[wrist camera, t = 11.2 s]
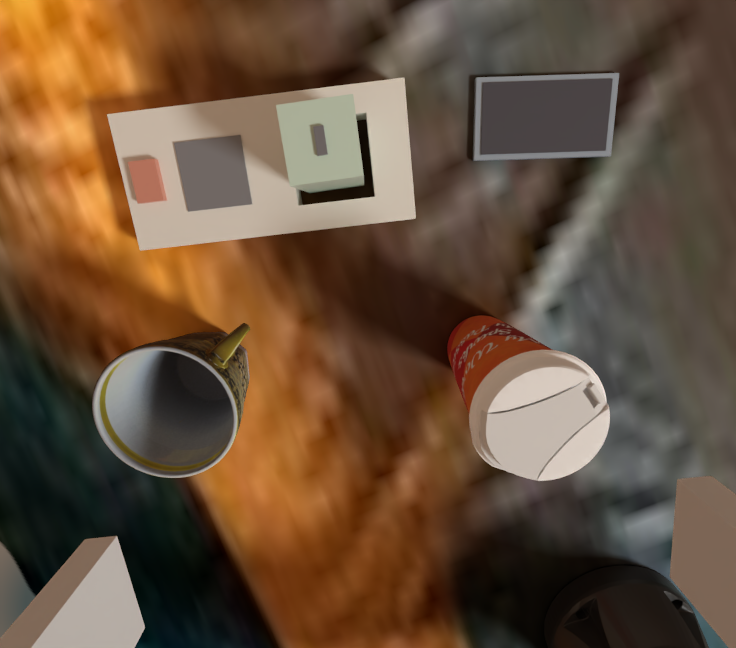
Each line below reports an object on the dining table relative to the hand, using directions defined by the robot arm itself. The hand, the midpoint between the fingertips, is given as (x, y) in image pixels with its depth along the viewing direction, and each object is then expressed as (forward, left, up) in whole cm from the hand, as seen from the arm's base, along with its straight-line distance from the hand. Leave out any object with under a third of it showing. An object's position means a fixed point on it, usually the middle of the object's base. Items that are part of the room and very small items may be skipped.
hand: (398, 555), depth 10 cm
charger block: (+12, +2, -29) cm, 31 cm away
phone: (+14, -15, -29) cm, 36 cm away
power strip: (+12, +7, -29) cm, 32 cm away
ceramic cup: (-3, +14, -29) cm, 32 cm away
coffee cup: (-5, -9, -29) cm, 31 cm away
